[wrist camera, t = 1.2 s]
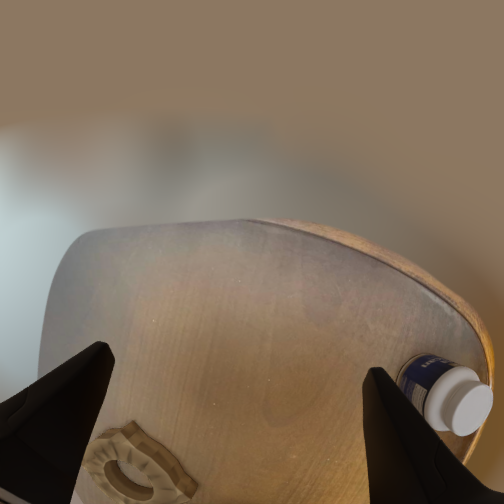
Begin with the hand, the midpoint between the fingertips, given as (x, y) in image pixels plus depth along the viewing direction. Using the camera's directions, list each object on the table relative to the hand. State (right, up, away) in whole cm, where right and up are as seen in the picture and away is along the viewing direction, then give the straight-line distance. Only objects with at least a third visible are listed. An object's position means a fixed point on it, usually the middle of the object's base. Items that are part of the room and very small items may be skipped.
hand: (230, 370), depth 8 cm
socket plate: (-12, -21, +14) cm, 28 cm away
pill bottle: (+17, -8, +13) cm, 23 cm away
